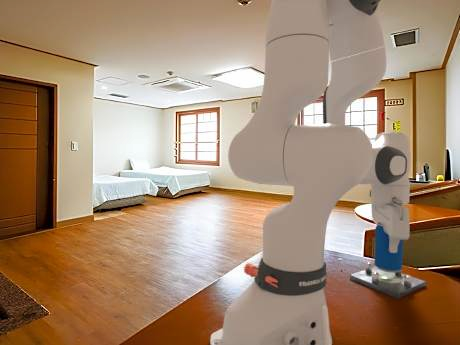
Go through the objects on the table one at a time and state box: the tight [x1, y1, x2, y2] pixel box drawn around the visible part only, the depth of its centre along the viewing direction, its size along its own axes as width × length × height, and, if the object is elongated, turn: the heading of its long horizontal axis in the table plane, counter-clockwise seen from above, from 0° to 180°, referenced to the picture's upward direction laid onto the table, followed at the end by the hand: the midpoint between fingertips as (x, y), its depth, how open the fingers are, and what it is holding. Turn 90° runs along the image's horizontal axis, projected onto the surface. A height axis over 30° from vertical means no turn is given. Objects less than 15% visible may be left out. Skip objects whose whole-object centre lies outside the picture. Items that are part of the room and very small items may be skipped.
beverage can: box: [374, 222, 404, 273], centre depth 78 cm, size 6×6×12 cm
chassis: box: [349, 261, 427, 299], centre depth 79 cm, size 13×13×4 cm
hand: (387, 247), depth 78 cm, fingers closed on beverage can, 6 cm apart
